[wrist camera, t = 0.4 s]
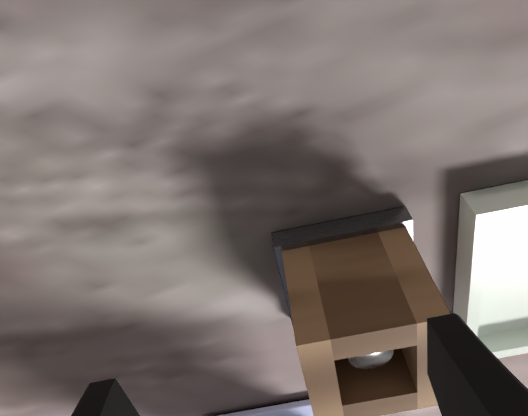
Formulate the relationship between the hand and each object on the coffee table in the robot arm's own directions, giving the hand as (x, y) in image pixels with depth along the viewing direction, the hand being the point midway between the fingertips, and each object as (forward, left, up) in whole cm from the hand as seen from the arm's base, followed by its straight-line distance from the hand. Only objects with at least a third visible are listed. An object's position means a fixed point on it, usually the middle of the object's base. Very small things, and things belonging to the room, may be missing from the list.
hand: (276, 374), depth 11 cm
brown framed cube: (-7, -3, -9) cm, 12 cm away
